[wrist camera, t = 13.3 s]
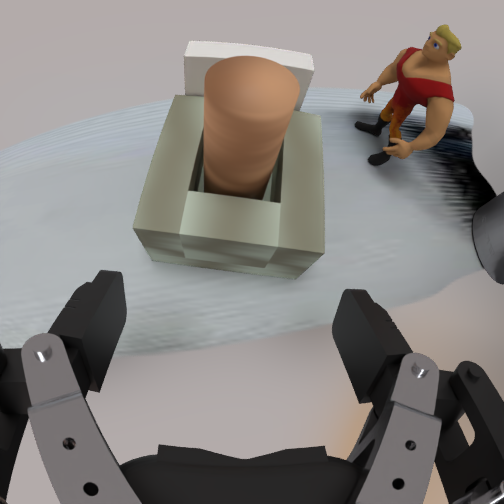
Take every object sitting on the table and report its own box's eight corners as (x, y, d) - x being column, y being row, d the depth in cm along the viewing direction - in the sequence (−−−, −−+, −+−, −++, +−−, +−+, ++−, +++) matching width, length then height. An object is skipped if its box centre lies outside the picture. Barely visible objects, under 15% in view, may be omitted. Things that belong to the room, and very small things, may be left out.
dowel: (262, 172, 21) (295, 61, 12) (262, 223, 20) (304, 118, 11) (206, 169, 21) (209, 53, 11) (201, 219, 19) (198, 108, 10)
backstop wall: (283, 135, 25) (311, 54, 16) (283, 152, 24) (314, 70, 16) (191, 126, 24) (189, 41, 15) (187, 144, 23) (183, 56, 15)
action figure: (343, 108, 27) (403, -9, 13) (371, 112, 28) (436, 6, 14) (371, 185, 24) (474, 62, 10) (402, 186, 25) (504, 80, 11)
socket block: (298, 163, 24) (320, 115, 19) (294, 280, 21) (324, 253, 15) (180, 147, 23) (175, 94, 18) (152, 261, 20) (132, 227, 15)
